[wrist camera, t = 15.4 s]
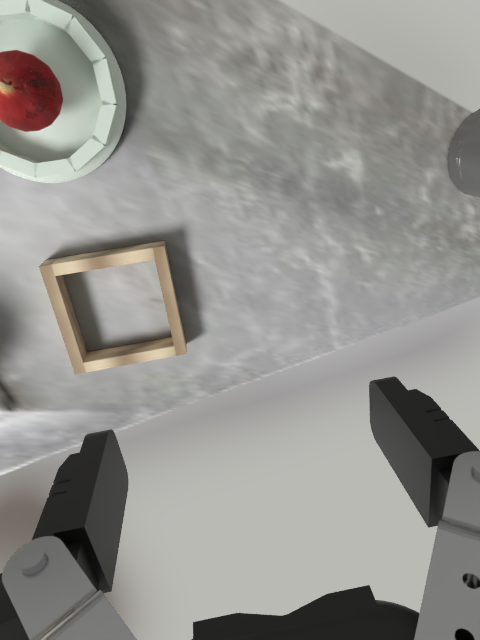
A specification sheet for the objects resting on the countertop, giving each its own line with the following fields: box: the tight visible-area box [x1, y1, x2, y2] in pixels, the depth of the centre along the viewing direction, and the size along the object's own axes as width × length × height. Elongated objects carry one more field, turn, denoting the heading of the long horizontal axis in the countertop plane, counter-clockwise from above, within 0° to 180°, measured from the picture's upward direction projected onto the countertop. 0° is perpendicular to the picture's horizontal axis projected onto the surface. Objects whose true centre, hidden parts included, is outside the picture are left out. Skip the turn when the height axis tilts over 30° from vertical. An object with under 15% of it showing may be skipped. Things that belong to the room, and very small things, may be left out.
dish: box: [0, 0, 127, 183], centre depth 38 cm, size 15×15×3 cm
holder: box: [39, 241, 187, 374], centre depth 47 cm, size 12×12×2 cm
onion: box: [0, 50, 63, 132], centre depth 35 cm, size 6×6×8 cm
